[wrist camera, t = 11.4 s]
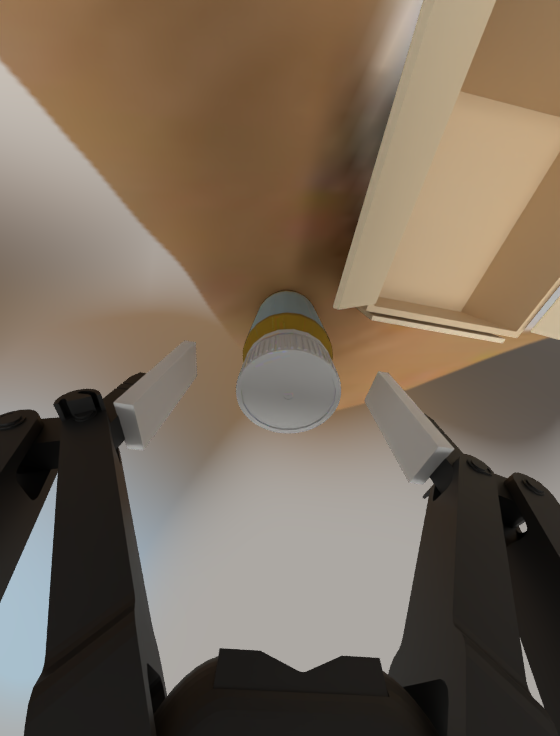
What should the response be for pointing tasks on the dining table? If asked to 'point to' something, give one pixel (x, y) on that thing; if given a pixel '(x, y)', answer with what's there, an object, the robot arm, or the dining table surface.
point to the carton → (488, 191)
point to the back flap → (549, 322)
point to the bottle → (288, 367)
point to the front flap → (411, 139)
